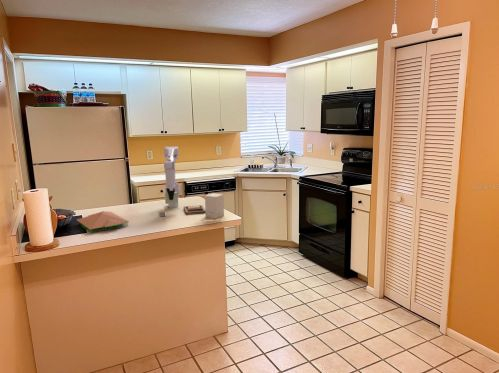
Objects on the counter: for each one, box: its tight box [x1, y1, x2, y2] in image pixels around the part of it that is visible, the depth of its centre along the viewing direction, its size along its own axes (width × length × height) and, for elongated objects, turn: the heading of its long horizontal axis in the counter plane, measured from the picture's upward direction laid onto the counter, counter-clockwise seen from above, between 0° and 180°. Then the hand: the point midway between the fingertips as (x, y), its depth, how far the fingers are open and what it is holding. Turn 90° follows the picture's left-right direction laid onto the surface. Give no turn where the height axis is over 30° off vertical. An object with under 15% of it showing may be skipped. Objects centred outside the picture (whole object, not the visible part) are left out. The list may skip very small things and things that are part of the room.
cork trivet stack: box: [187, 205, 201, 209], centre depth 258 cm, size 5×9×2 cm, turn 106°
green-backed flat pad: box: [76, 210, 130, 234], centre depth 227 cm, size 23×33×8 cm
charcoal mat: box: [158, 211, 166, 218], centre depth 250 cm, size 10×14×1 cm
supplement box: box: [204, 192, 225, 220], centre depth 241 cm, size 9×9×15 cm
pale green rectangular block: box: [164, 192, 179, 205], centre depth 248 cm, size 4×8×7 cm, turn 106°
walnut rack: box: [183, 204, 206, 216], centre depth 255 cm, size 17×13×2 cm
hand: (171, 199), depth 248 cm, fingers closed on pale green rectangular block, 4 cm apart
